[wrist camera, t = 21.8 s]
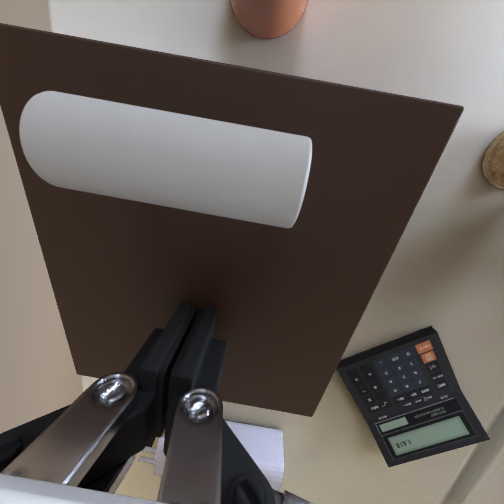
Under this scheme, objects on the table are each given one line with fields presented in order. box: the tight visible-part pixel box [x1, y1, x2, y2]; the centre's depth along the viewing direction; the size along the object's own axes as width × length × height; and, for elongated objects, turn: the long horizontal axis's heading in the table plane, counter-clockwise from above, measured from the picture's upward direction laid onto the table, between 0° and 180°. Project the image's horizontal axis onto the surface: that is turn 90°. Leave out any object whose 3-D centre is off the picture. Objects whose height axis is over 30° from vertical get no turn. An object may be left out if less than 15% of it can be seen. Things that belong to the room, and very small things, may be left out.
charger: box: [138, 420, 284, 491], centre depth 27 cm, size 5×9×15 cm
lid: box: [0, 23, 464, 417], centre depth 9 cm, size 15×14×5 cm
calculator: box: [336, 326, 490, 467], centre depth 24 cm, size 9×12×3 cm
